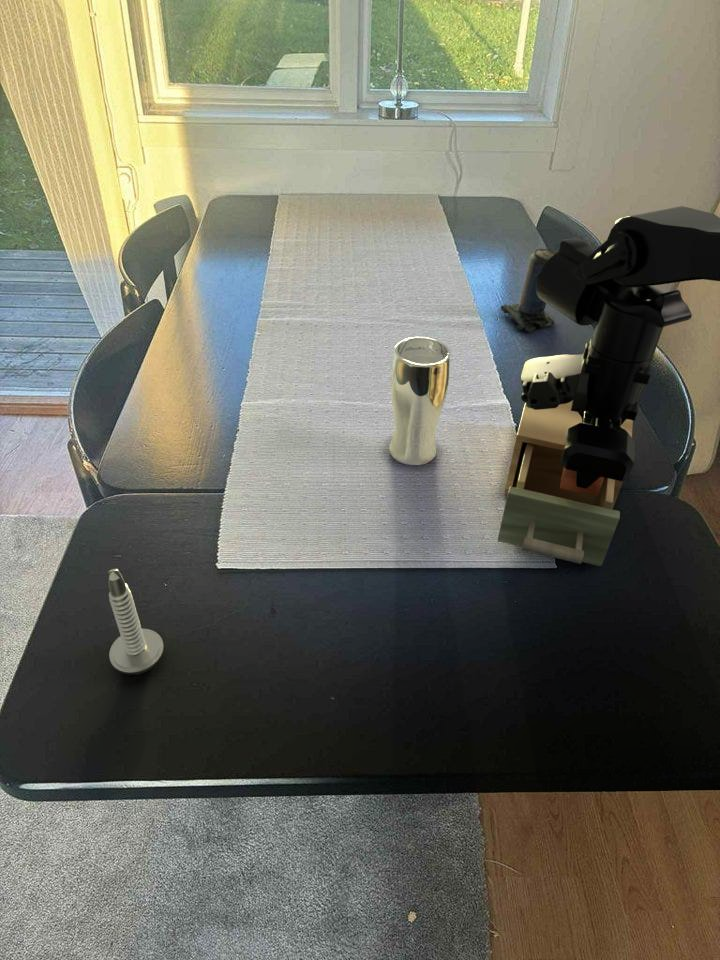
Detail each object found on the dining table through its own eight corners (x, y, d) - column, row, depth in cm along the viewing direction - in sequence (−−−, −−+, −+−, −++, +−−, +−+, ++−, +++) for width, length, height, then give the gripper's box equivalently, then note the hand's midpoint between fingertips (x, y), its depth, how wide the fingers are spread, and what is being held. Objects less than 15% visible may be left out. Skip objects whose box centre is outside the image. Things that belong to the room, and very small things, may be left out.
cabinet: (609, 518, 83) (631, 459, 77) (503, 494, 86) (516, 435, 80) (615, 446, 93) (634, 389, 88) (520, 427, 96) (533, 370, 90)
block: (599, 474, 77) (609, 445, 75) (597, 496, 74) (607, 468, 72) (563, 466, 78) (571, 437, 76) (559, 488, 75) (567, 459, 73)
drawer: (598, 595, 73) (617, 547, 68) (490, 567, 75) (501, 519, 70) (608, 488, 86) (624, 441, 81) (515, 468, 88) (525, 421, 83)
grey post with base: (560, 325, 118) (577, 257, 111) (524, 335, 116) (539, 266, 108) (527, 303, 124) (540, 237, 116) (492, 311, 121) (503, 244, 114)
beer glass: (440, 469, 89) (454, 367, 79) (386, 467, 89) (393, 365, 79) (437, 435, 94) (450, 336, 84) (385, 434, 94) (392, 334, 84)
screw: (141, 694, 64) (102, 670, 65) (177, 656, 67) (139, 634, 69) (112, 603, 55) (69, 577, 57) (155, 564, 58) (113, 541, 60)
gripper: (547, 291, 74) (520, 412, 84) (521, 381, 60) (494, 512, 71) (657, 309, 72) (616, 431, 82) (656, 407, 58) (607, 539, 68)
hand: (582, 474), depth 76 cm, fingers closed on block, 4 cm apart
